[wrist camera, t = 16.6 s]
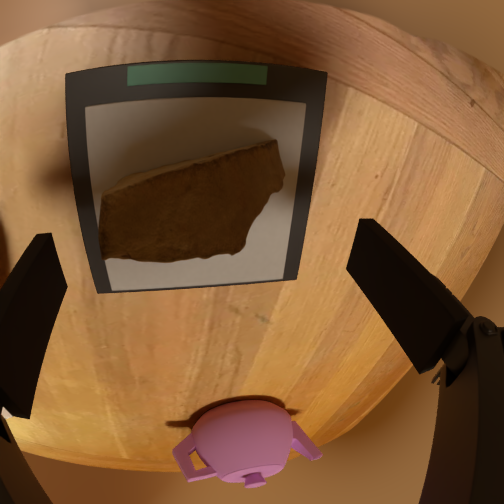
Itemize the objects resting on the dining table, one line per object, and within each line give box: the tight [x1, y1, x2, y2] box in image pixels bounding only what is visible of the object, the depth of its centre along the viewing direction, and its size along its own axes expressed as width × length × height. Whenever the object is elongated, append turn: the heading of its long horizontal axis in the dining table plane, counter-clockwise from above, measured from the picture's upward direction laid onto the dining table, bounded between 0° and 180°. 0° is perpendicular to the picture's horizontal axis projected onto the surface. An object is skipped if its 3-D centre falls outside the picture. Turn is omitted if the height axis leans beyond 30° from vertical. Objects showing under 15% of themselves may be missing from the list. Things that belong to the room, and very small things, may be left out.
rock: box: [98, 139, 285, 263], centre depth 15 cm, size 11×9×10 cm
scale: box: [65, 60, 328, 294], centre depth 19 cm, size 16×16×4 cm
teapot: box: [173, 400, 322, 488], centre depth 37 cm, size 22×16×12 cm
